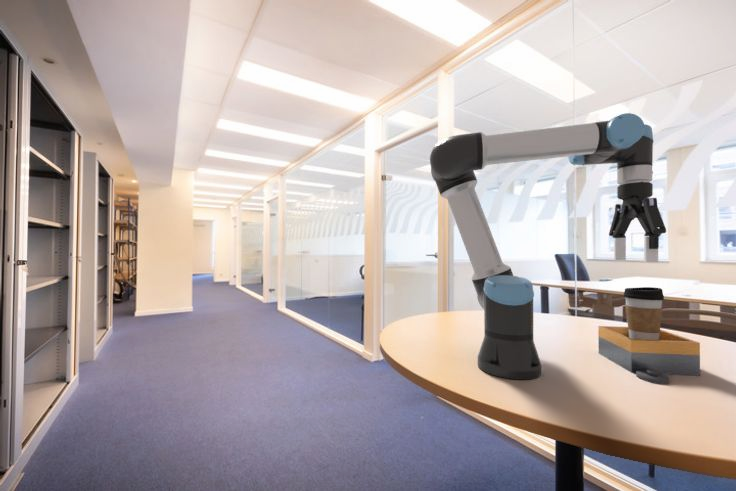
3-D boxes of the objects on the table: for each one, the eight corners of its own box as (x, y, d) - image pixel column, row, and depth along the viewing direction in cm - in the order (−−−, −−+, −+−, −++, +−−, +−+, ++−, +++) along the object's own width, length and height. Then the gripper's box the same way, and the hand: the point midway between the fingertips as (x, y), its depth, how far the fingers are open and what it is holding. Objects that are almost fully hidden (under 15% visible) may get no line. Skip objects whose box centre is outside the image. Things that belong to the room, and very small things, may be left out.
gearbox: (631, 372, 82) (631, 340, 82) (598, 353, 96) (598, 326, 97) (700, 375, 79) (699, 342, 79) (655, 355, 94) (655, 327, 94)
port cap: (646, 384, 75) (646, 374, 75) (630, 374, 81) (630, 365, 81) (676, 386, 74) (676, 376, 74) (657, 375, 80) (657, 366, 80)
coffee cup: (673, 349, 83) (672, 290, 83) (635, 347, 85) (634, 289, 85) (651, 340, 91) (651, 286, 92) (617, 338, 93) (616, 285, 93)
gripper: (685, 173, 77) (685, 263, 77) (622, 191, 102) (622, 259, 101) (649, 174, 78) (649, 263, 78) (596, 191, 103) (595, 259, 103)
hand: (634, 261), depth 90 cm, fingers open, 13 cm apart
